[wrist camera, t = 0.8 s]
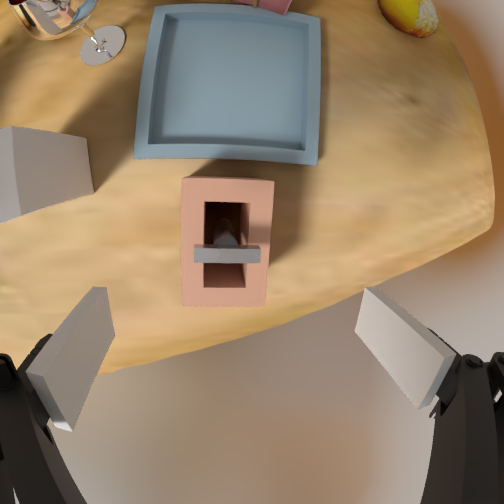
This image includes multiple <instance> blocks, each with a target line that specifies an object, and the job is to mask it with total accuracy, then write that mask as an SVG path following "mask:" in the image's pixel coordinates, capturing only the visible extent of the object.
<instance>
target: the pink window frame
mask: <svg viewBox="0 0 504 504" xmlns="http://www.w3.org/2000/svg"><path fill="white" fill-rule="evenodd" d="M274 182H275V181H271V180H266V179H261V178H246V177H221V176H187V177H184V178H182V188H181V264H182V293H183V306H215V307H233V306H265V300H266V289H267V276H268V264H269V251H270V238H271V225H272V211H273V197H274ZM206 201H208V202H241V209H240V230H239V245H259V246H260V248H261V260H260V263H230V264H223V263H194V244H205V226H206Z"/></svg>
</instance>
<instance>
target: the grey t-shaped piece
mask: <svg viewBox="0 0 504 504" xmlns="http://www.w3.org/2000/svg"><path fill="white" fill-rule="evenodd" d="M260 260H261V248H260V246H259V245H238V243H237V240H236V237H235V234H234V231H233V228H232V225H231V223H230V222H229V221H228V220H226V219H219V220H217V221H216V222H215V223H214V226H213V244H194V263H223V264H230V263H260Z"/></svg>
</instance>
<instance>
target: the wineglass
mask: <svg viewBox="0 0 504 504" xmlns="http://www.w3.org/2000/svg"><path fill="white" fill-rule="evenodd" d="M99 1H100V0H8V3H9V5H10V7H11V9H12V11H13V13H14V15H15V17H16V18H17V20H18V22H19V23H20V25H21V26H22V28H23V29H24V31H25V32H26V33H27V34H28V35H29V36H31V37H32V38H34V39H37V40H53V39H57V38H60V37H63V36H65V35H68V34H70V33H71V32H73V31H75V30H76V29H78V28H79V27H80V28H81V29H82V30H83V31H84V32H85V33H86V34H87V35H88V37H87V38H86V40H85V41H84V43H83V45H82V47H81V51H80V56H81V59H82V61H83V62H84V63H85V64H87V65H89V66H99V65H102V64H105V63H107V62H108V61H110V60H111V59H113V58H114V57H115V56H116V55H117V54H118V53H119V52H120V50H121V49H122V47H123V45H124V42H125V34H124V31H123V30H122V29H121V28H120V27H118V26H114V25H108V26H104V27H101V28H99V29H97V30H95V31H94V32H93V31H92V29H91V28H90V27H89V26H88V25H87V24H86V23H85V22H86V21H87V20H88V19H89V18H90V16H91V15H92V14H93V12H94V11H95V9H96V7H97V6H98V3H99Z"/></svg>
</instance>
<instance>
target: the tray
mask: <svg viewBox="0 0 504 504" xmlns="http://www.w3.org/2000/svg"><path fill="white" fill-rule="evenodd" d="M320 92H321V29H320V18H318V17H314V16H310V15H305V14H301V13H296V12H290V11H287V12H286V15H285V16H284V15H281V14H278V13H275V12H272V11H269V10H266V9H262V8H259V7H257V8H255V9H254V8H253V6H247V5H234V4H209V3H197V4H172V5H159V6H155V9H154V13H153V17H152V21H151V26H150V30H149V35H148V40H147V45H146V51H145V56H144V62H143V68H142V75H141V82H140V90H139V98H138V107H137V118H136V130H135V146H134V159H230V160H250V161H265V162H278V163H289V164H300V165H309V166H317V159H318V143H319V122H320Z"/></svg>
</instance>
